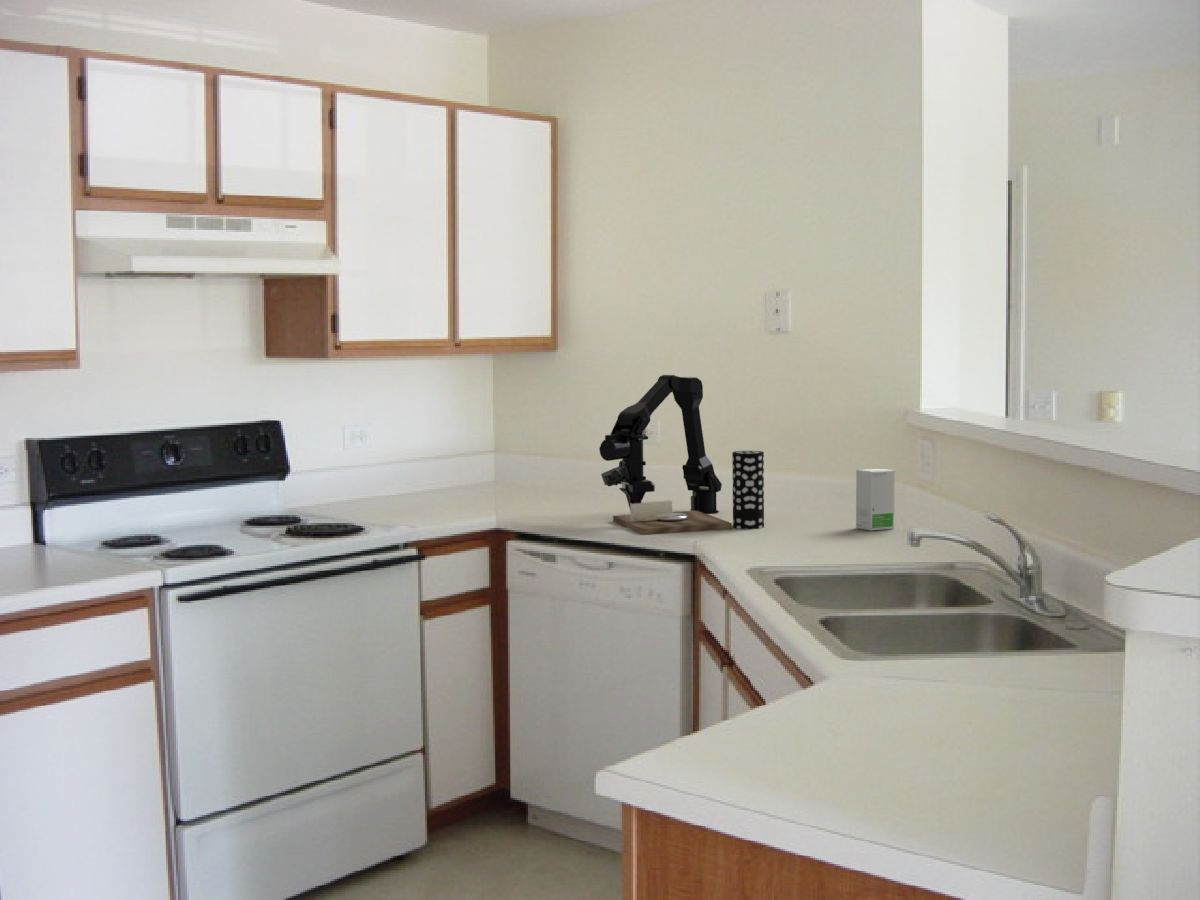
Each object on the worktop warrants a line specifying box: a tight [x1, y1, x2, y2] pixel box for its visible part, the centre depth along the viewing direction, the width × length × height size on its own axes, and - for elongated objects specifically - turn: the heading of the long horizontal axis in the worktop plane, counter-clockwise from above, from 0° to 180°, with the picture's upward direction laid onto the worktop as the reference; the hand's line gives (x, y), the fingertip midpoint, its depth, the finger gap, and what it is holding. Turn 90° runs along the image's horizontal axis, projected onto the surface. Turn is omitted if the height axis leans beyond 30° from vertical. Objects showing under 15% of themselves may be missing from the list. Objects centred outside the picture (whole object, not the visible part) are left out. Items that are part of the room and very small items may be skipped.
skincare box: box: [855, 468, 895, 532], centre depth 344 cm, size 8×7×16 cm
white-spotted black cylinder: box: [731, 450, 765, 530], centre depth 350 cm, size 8×8×20 cm
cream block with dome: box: [629, 499, 688, 522], centre depth 355 cm, size 16×9×5 cm, turn 111°
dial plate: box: [612, 510, 733, 536], centre depth 356 cm, size 25×25×2 cm
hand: (633, 514), depth 355 cm, fingers closed
